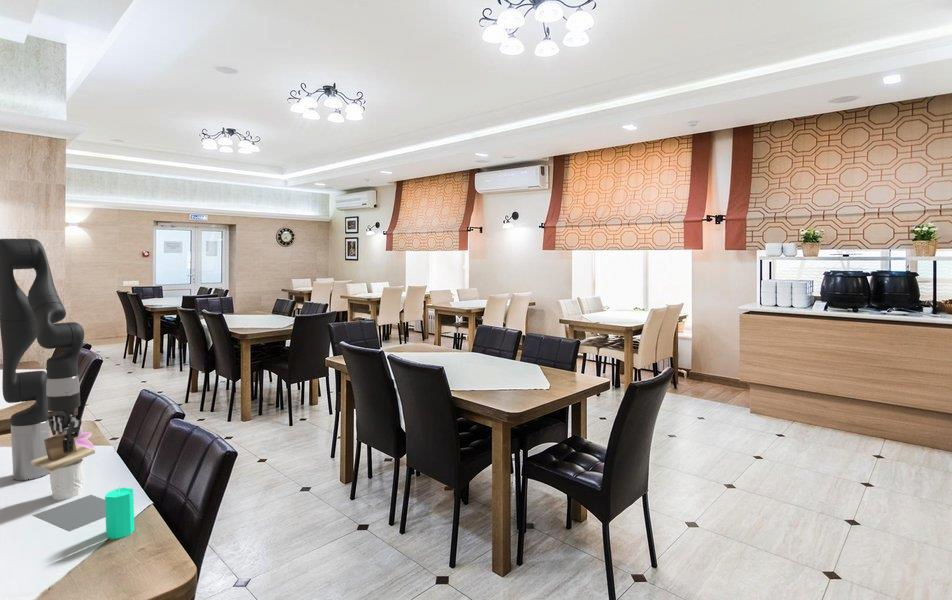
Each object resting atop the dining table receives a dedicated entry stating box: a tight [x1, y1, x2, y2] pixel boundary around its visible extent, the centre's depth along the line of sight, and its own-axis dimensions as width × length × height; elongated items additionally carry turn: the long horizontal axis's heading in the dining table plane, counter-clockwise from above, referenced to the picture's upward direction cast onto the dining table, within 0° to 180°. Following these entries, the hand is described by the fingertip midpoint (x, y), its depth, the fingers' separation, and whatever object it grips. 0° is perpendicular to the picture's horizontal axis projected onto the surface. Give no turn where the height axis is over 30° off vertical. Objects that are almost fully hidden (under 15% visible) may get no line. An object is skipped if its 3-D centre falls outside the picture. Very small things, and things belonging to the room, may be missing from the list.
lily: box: [74, 426, 95, 450], centre depth 185 cm, size 12×12×10 cm
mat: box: [32, 494, 106, 532], centre depth 140 cm, size 18×14×1 cm
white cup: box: [49, 458, 85, 501], centre depth 150 cm, size 8×8×10 cm
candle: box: [104, 487, 135, 540], centre depth 130 cm, size 6×6×12 cm
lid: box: [30, 432, 96, 471], centre depth 148 cm, size 11×11×7 cm
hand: (65, 450), depth 149 cm, fingers closed on lid, 2 cm apart
